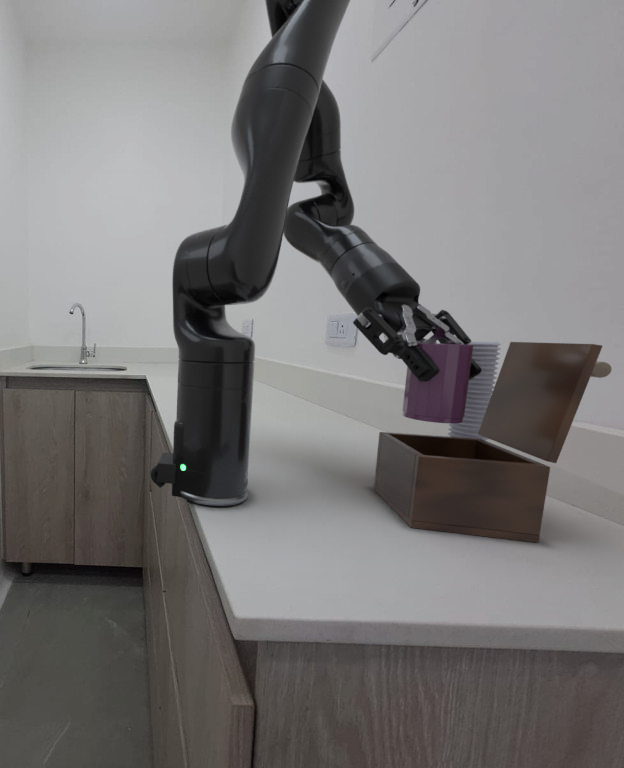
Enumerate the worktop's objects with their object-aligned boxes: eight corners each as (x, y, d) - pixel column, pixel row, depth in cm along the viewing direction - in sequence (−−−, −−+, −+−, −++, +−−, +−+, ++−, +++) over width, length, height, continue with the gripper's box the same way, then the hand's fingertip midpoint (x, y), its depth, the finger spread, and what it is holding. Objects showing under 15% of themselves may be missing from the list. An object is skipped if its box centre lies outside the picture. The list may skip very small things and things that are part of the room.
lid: (592, 343, 38) (651, 353, 37) (510, 341, 48) (554, 348, 47) (546, 461, 40) (601, 473, 39) (477, 434, 50) (518, 443, 49)
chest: (410, 527, 43) (419, 456, 42) (373, 489, 54) (379, 431, 53) (538, 543, 41) (550, 466, 40) (472, 499, 51) (480, 438, 50)
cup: (414, 421, 47) (423, 344, 45) (394, 412, 52) (401, 342, 51) (474, 425, 45) (485, 345, 44) (446, 415, 51) (455, 343, 50)
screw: (519, 501, 51) (542, 343, 48) (438, 492, 53) (457, 341, 51) (481, 478, 59) (500, 342, 56) (413, 471, 61) (428, 340, 59)
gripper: (347, 257, 51) (431, 355, 42) (432, 264, 55) (527, 355, 45) (313, 302, 57) (380, 397, 47) (392, 305, 61) (469, 394, 51)
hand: (452, 376), depth 46 cm, fingers closed on cup, 6 cm apart
